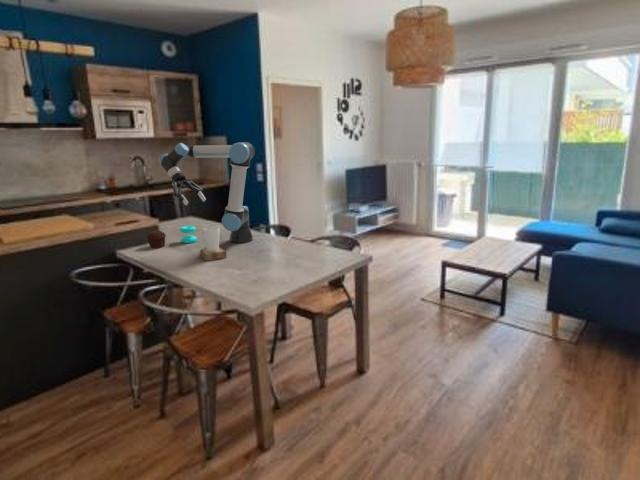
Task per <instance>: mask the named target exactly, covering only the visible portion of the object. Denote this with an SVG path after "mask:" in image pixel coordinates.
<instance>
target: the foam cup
mask: <svg viewBox="0 0 640 480" xmlns="http://www.w3.org/2000/svg"><path fill="white" fill-rule="evenodd" d="M220 231H221V229H220V227H219V226H206V227H203V228H202V233H203V236H204V241H205V246H206V249H207V250H208V251H209V252H214V251H218V250H219V247H220V233H221V232H220Z"/></svg>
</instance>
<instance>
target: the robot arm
mask: <svg viewBox="0 0 640 480" xmlns="http://www.w3.org/2000/svg"><path fill="white" fill-rule="evenodd" d="M255 153H256V151H255V146H254V145H252V144H251V143H250V142H248V141H243V142H239V141H238V142H235V143H233V144H231V145H230V144H224V145H223V144H221V145H219V144H216V145H215V144H214V145H213V144H212V145H210V144H209V145H186V144H185V143H182V142H179V143H177V144H176V145H175V146H174V147H173V149H171V151H170V152H169V153H163V154H162V155H160V156H159V157H158V162H159V165H160V166H161V167H162V168H163V170H164V171H165V173H166V174H167V175H168V176H169V177H170V179H171V181H172V183H171V187H172V189H173V196H174V197H175V198H177V199H179V200H180V201H182V203H183V205H184V206H188V204H189V202H190V201H188V199H187V198H186V197H185V195H183V193H182V190H183V189H188V190H191V191H194V192H195V193H196V194H197V196H198V197H199V198H200V199H201V201H202V202H203V203H205V201H206V200H207V198H206V197H205V195H204V192H203V188H202V187H201V186H199V185H198V184H197V183H195V182H194V181H193V180H192V179H189V180H187V178H186V176H185V175H184V173H183V172H182V170H181V169H180V168H179V167H178V164H179V163H180V162H181V161H182V160H183V159H196V158H197V159H198V158H200V159H201V158H202V159H203V158H205V159H206V158H213V159H214V158H215V159H216V158H218V159H219V158H221V159H222V158H224V159H225V158H230V162H229V165H230V166H231V175H230V184H229V185H230V186H229V194H228V201H227V202H228V203H227V206H225V208H224V214H223V216H222V219H221V225H222V227H223V228H224V229H225V230H227V231H228V232H230V236H229V242H230V243H233V244H241V243H242V244H243V243H248V242H252V241H253V240H254V237H253V234H252V231H251V227H250V215H249V214H250V212H249V207H248V206H247V205H243V202H244V194H245V188H246V187H245V186H246V185H245V184H246V178H247V171H248V170H247V169H249V168H250V166H251V160H252V159H253V158H254V156H255ZM177 187H178V188H177Z"/></svg>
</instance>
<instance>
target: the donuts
mask: <svg viewBox="0 0 640 480" xmlns="http://www.w3.org/2000/svg"><path fill="white" fill-rule="evenodd" d="M179 230H180V232H181V233H182V234H191V233H194V232H196V230H197V228H196V227H195V226H194V225H185V226H184V225H183V226H181V227H180V228H179ZM197 240H198V237H196V235H193V234H192V235H185V236H182V238H181V239H180V241H181V243H183V244H192V243H193V244H194V243H196V242H197Z"/></svg>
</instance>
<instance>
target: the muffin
mask: <svg viewBox="0 0 640 480" xmlns="http://www.w3.org/2000/svg"><path fill="white" fill-rule="evenodd" d="M166 236H167V235H166V233H165V232H163V231H162V230H153V231H151V232H149V233H148V234H147V236H146V239H147V241H148V244H149V247H150V248H151V249H161V248H164V247H165V246H166ZM150 248H149V249H150Z"/></svg>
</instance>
